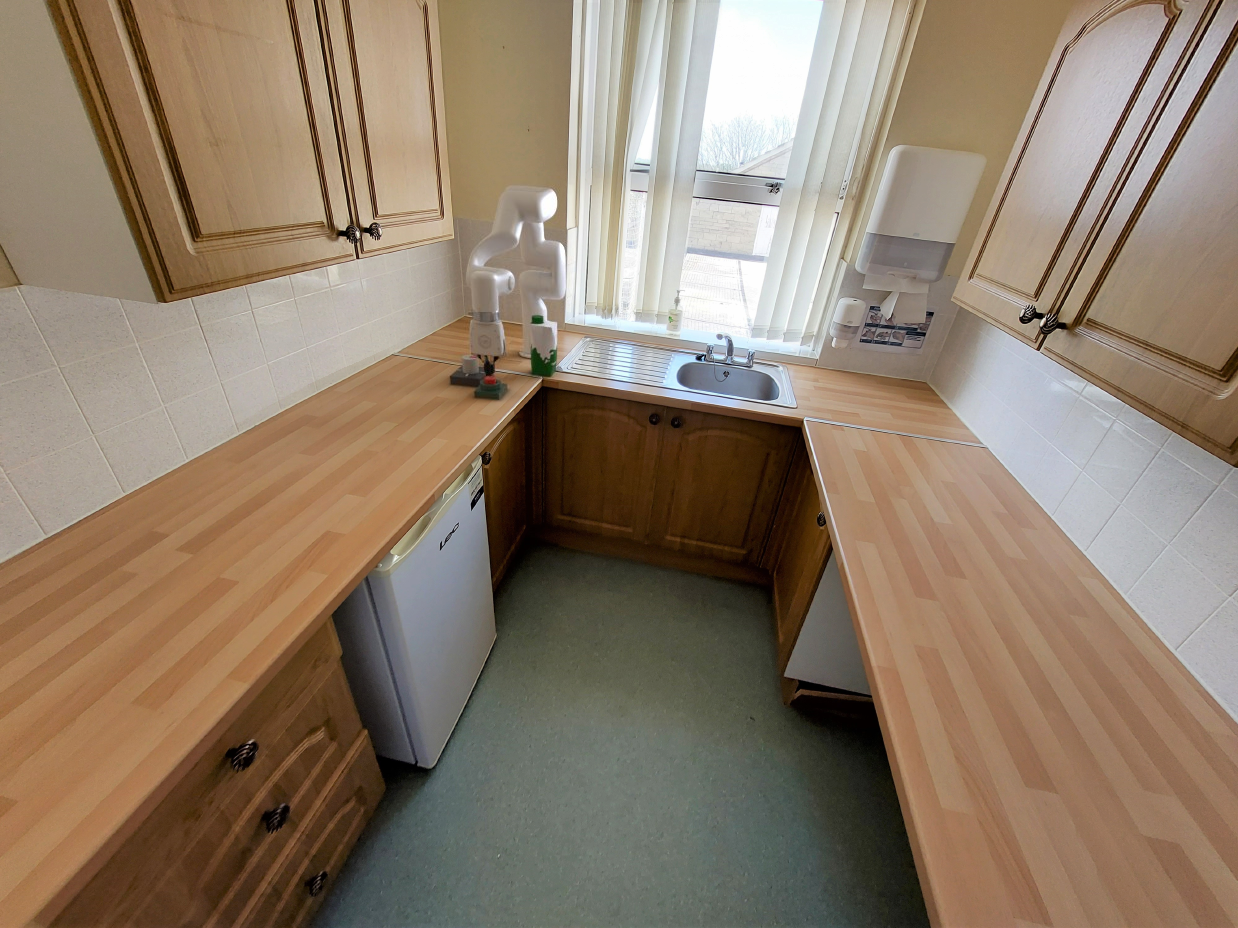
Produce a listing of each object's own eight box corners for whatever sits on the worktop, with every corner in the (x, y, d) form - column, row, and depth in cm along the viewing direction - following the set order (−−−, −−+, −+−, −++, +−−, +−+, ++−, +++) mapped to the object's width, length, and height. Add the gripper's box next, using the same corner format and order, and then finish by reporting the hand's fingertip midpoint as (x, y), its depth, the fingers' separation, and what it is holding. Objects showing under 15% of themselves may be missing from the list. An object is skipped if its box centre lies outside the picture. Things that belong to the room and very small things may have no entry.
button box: (483, 387, 160) (482, 376, 158) (507, 389, 160) (506, 378, 158) (474, 397, 152) (473, 385, 150) (499, 400, 152) (498, 388, 150)
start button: (486, 380, 156) (486, 375, 155) (497, 381, 156) (497, 376, 155) (483, 384, 153) (482, 379, 152) (494, 385, 153) (494, 380, 152)
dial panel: (463, 372, 170) (462, 364, 169) (491, 375, 170) (490, 366, 169) (450, 384, 160) (449, 375, 158) (480, 387, 160) (479, 378, 158)
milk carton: (535, 367, 181) (534, 313, 171) (559, 370, 180) (559, 315, 170) (528, 375, 173) (526, 318, 163) (552, 378, 172) (552, 321, 162)
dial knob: (460, 373, 161) (459, 357, 159) (466, 368, 166) (464, 353, 163) (475, 374, 161) (474, 359, 159) (480, 369, 166) (479, 354, 163)
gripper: (456, 316, 141) (462, 376, 150) (507, 321, 140) (509, 381, 149) (466, 311, 147) (470, 368, 156) (514, 315, 147) (516, 373, 156)
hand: (489, 374), depth 153 cm, fingers closed
